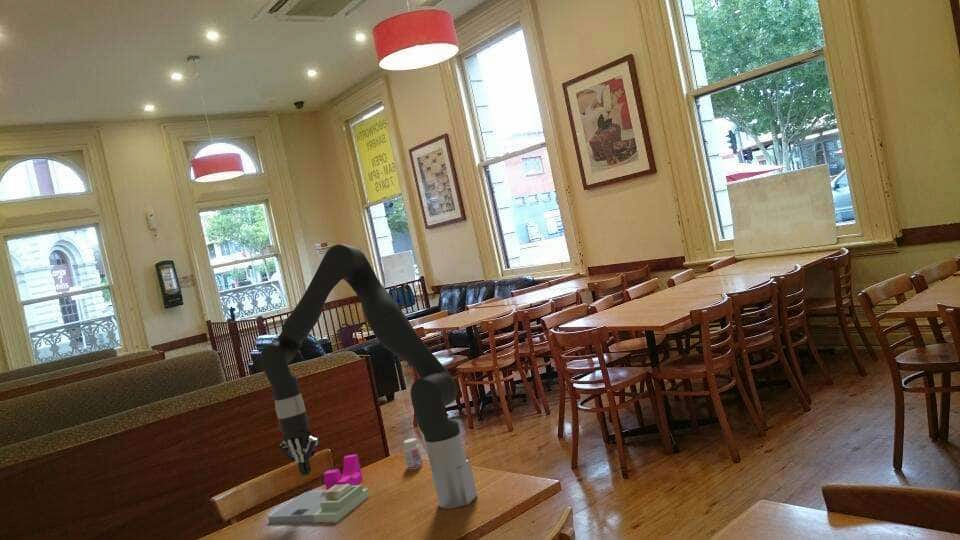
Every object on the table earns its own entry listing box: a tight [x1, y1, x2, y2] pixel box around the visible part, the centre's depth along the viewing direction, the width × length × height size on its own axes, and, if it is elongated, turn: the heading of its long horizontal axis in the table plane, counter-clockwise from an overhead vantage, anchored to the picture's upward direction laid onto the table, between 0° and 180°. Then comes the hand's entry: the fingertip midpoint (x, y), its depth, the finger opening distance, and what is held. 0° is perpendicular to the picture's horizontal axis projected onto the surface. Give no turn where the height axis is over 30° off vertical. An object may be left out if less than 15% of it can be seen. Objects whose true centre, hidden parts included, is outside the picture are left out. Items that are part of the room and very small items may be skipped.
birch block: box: [324, 484, 352, 501], centre depth 181 cm, size 5×5×4 cm
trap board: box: [267, 484, 371, 524], centre depth 184 cm, size 22×16×4 cm
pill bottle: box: [403, 437, 424, 470], centre depth 205 cm, size 5×5×8 cm
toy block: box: [323, 453, 364, 491], centre depth 200 cm, size 15×6×8 cm, turn 165°
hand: (306, 474), depth 184 cm, fingers closed
